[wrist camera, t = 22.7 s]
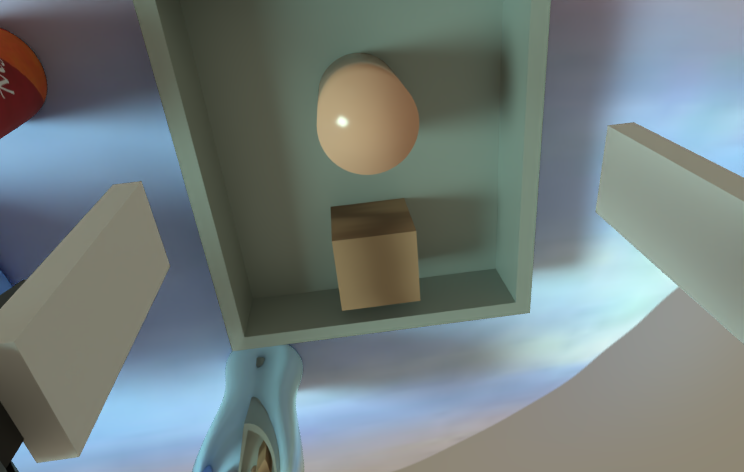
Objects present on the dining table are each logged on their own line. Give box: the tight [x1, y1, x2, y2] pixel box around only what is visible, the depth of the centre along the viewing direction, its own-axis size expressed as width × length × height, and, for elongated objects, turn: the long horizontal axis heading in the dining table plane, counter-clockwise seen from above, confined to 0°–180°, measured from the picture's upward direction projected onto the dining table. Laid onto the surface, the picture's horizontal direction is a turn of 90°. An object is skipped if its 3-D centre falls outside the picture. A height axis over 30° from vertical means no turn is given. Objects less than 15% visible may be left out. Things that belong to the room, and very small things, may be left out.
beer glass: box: [192, 344, 304, 472], centre depth 34 cm, size 7×7×15 cm
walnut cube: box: [331, 198, 420, 311], centre depth 33 cm, size 5×5×5 cm
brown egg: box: [317, 53, 419, 175], centre depth 27 cm, size 5×5×7 cm
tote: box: [133, 0, 551, 351], centre depth 31 cm, size 22×20×5 cm
